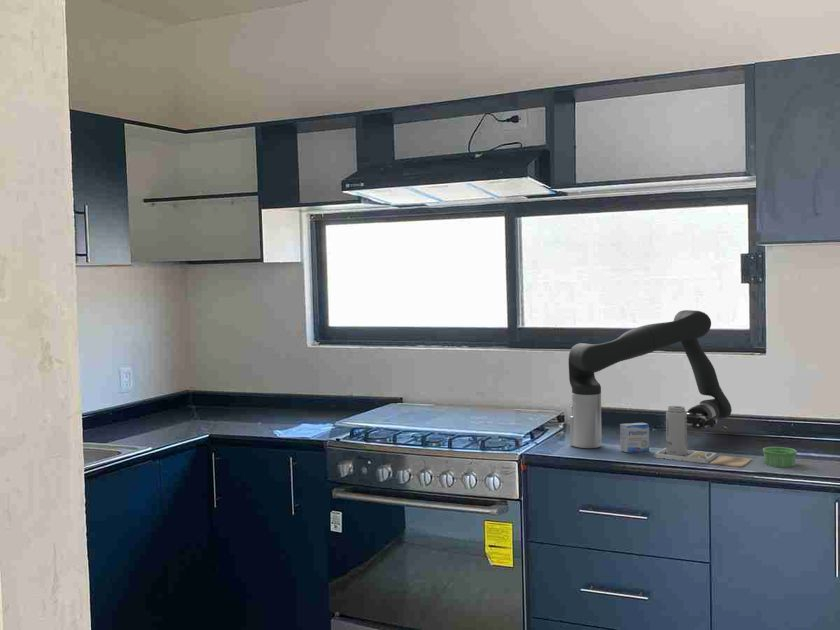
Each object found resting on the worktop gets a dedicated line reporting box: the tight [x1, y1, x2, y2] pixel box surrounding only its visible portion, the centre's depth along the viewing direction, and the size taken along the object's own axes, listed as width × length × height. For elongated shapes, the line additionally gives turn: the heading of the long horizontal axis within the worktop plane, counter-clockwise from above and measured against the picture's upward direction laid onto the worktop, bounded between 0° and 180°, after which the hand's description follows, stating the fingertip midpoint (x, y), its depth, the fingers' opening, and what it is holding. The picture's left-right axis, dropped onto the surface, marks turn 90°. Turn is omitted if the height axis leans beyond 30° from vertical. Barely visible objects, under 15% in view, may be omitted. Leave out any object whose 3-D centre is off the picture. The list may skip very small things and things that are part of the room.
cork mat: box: [709, 455, 753, 469], centre depth 244 cm, size 9×11×1 cm
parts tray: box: [653, 447, 718, 464], centre depth 251 cm, size 16×10×1 cm, turn 55°
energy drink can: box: [665, 405, 688, 457], centre depth 252 cm, size 6×6×15 cm
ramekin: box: [762, 446, 798, 468], centre depth 240 cm, size 9×9×4 cm
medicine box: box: [619, 422, 650, 454], centre depth 261 cm, size 8×4×9 cm, turn 105°
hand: (686, 423), depth 260 cm, fingers open, 8 cm apart
